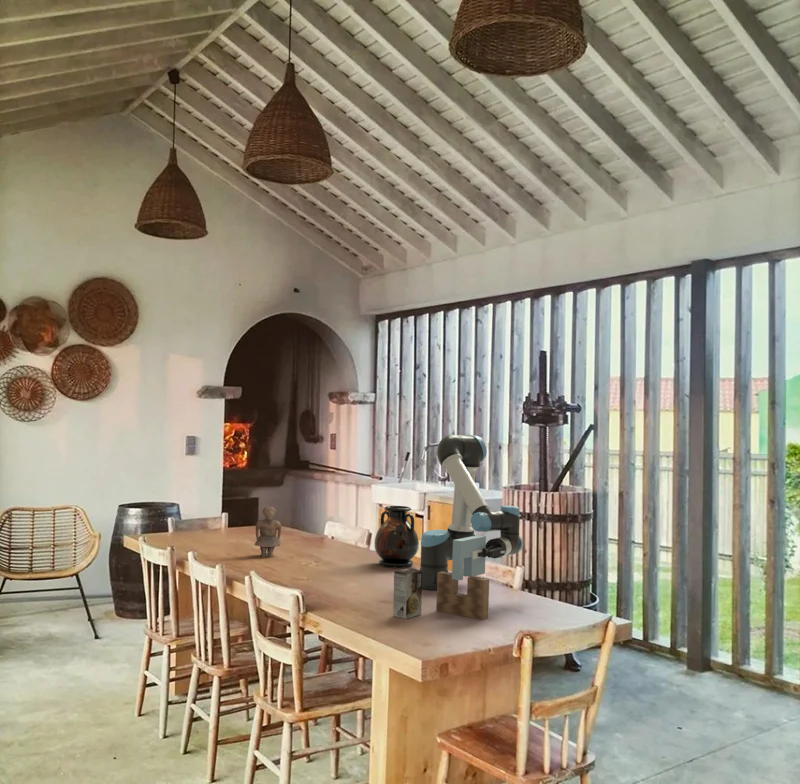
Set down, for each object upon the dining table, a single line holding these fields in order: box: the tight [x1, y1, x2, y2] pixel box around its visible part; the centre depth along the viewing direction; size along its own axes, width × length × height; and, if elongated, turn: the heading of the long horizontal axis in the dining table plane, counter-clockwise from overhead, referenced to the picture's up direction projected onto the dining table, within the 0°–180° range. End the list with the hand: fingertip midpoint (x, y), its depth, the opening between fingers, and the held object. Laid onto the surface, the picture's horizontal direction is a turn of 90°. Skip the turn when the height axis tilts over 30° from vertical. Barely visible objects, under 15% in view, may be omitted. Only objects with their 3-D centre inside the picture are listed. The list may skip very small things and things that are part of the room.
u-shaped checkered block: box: [436, 571, 490, 621], centre depth 290 cm, size 20×4×14 cm, turn 54°
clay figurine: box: [254, 505, 282, 558], centre depth 396 cm, size 13×10×25 cm
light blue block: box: [451, 534, 487, 581], centre depth 294 cm, size 4×18×14 cm, turn 144°
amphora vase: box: [374, 505, 420, 569], centre depth 383 cm, size 22×22×28 cm
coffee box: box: [392, 567, 423, 620], centre depth 286 cm, size 9×6×16 cm
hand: (467, 554), depth 293 cm, fingers closed on light blue block, 3 cm apart
